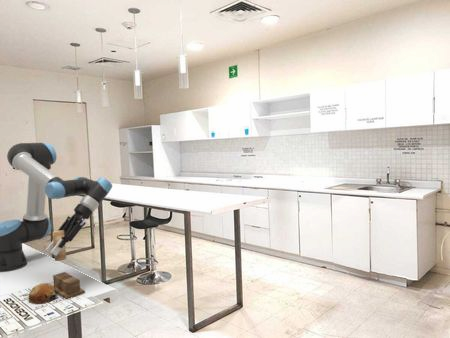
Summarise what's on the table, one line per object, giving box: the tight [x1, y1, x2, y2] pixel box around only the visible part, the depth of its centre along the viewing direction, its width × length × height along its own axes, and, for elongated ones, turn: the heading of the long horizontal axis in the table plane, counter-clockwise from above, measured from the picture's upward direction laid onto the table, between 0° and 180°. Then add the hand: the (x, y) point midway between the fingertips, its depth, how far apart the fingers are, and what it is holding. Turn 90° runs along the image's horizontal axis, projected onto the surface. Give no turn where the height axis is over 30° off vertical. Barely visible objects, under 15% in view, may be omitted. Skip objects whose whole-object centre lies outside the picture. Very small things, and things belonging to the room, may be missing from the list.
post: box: [52, 230, 67, 262], centre depth 148 cm, size 4×4×12 cm
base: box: [52, 271, 86, 300], centre depth 148 cm, size 16×8×6 cm, turn 49°
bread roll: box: [28, 282, 57, 305], centre depth 141 cm, size 10×10×8 cm
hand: (50, 252), depth 145 cm, fingers closed on post, 4 cm apart
